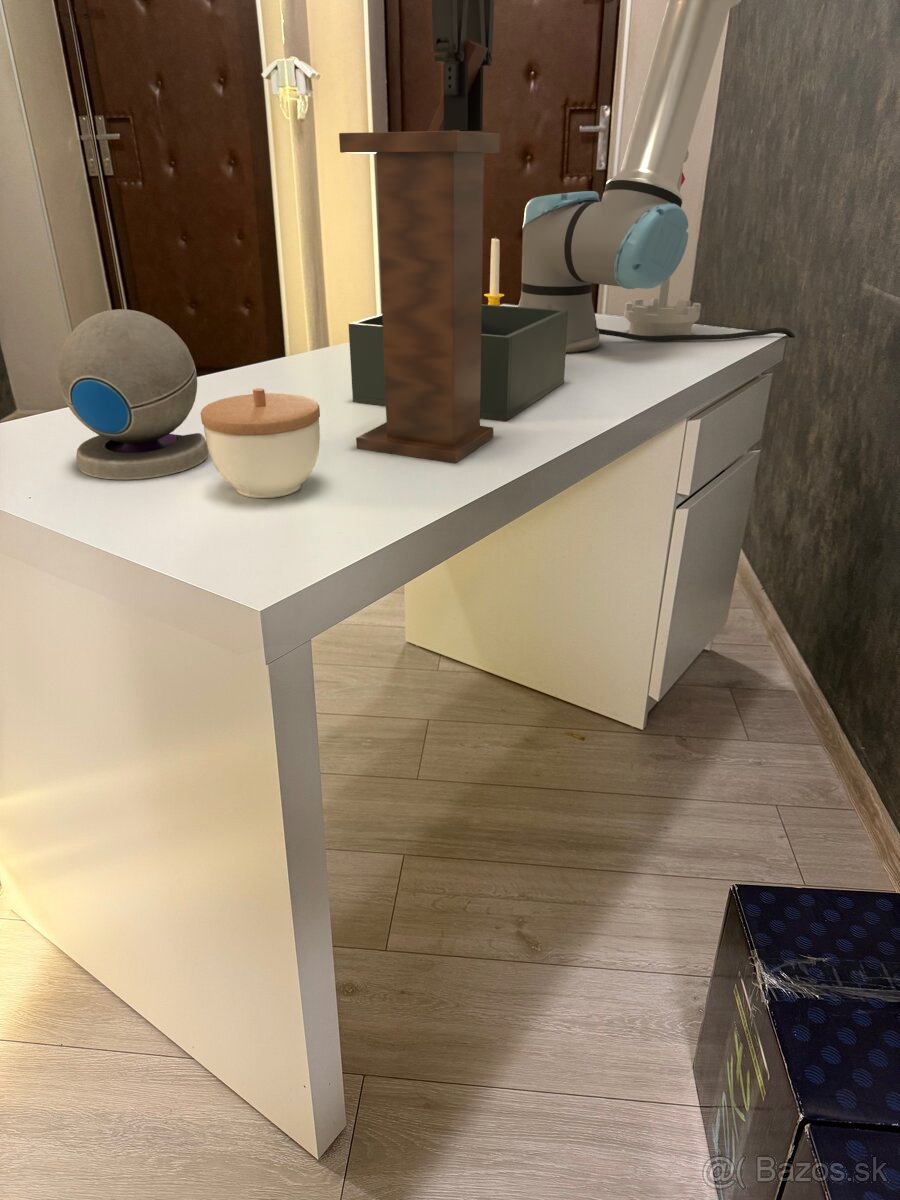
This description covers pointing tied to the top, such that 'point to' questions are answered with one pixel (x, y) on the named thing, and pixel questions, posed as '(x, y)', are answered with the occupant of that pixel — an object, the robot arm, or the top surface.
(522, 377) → the dark green open box
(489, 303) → the candle
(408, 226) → the shelf stand
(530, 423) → the top surface
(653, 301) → the flag stand
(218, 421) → the trinket box
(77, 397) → the webcam
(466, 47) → the scrub brush
